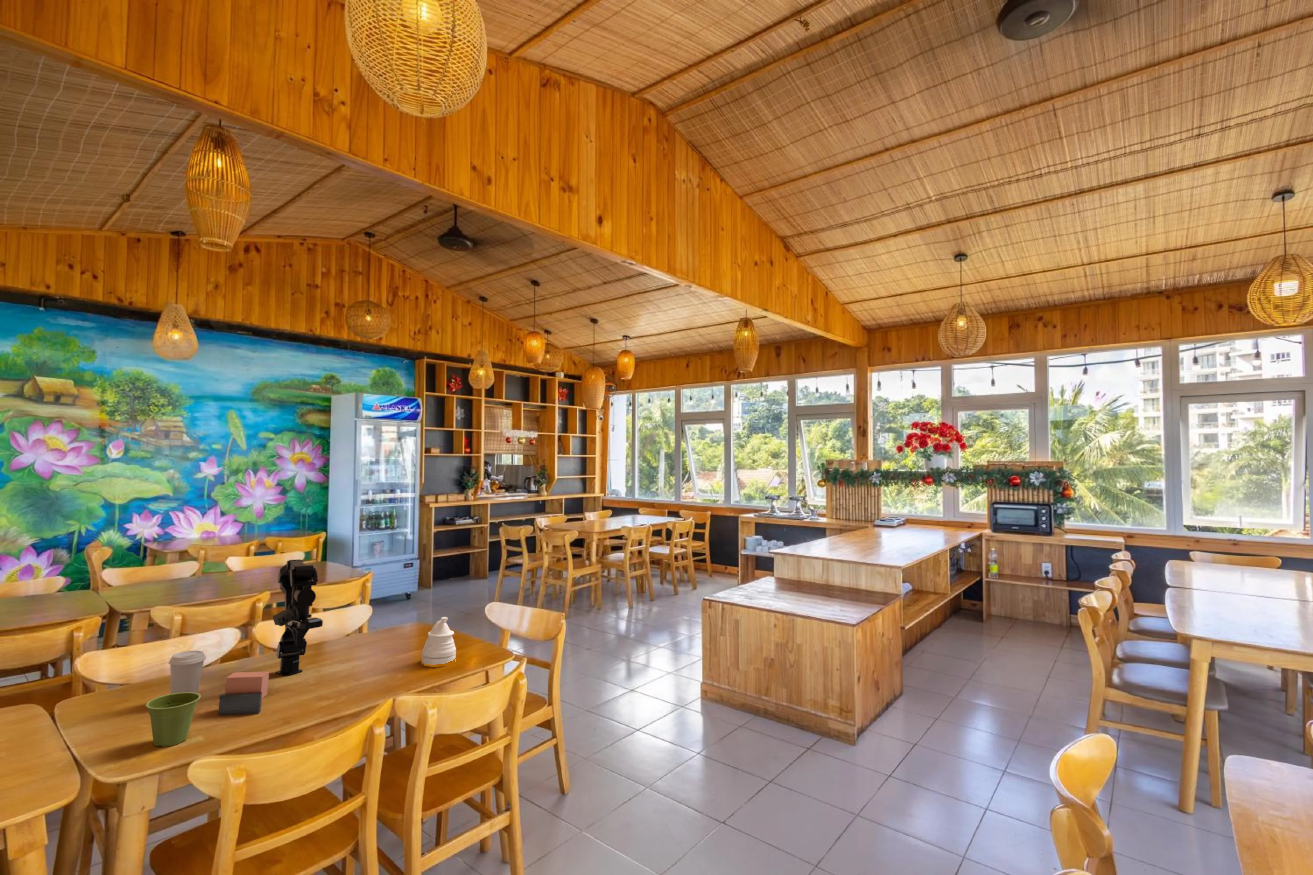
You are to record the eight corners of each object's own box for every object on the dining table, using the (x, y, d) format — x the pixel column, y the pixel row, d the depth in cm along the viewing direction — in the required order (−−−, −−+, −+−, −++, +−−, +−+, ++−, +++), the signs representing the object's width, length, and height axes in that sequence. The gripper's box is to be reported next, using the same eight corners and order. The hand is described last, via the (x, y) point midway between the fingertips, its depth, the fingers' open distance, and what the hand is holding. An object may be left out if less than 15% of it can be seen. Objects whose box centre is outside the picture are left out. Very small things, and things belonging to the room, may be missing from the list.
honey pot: (462, 661, 242) (464, 616, 243) (435, 669, 231) (438, 622, 232) (441, 655, 249) (444, 611, 250) (414, 663, 238) (417, 617, 239)
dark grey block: (240, 698, 196) (241, 679, 196) (277, 696, 198) (278, 678, 198) (218, 715, 182) (219, 695, 182) (258, 713, 184) (259, 693, 184)
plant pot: (131, 746, 160) (135, 703, 161) (180, 729, 171) (183, 689, 172) (159, 755, 156) (163, 710, 157) (207, 737, 167) (210, 696, 168)
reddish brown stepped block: (231, 705, 189) (234, 672, 190) (266, 703, 191) (269, 671, 192) (223, 711, 184) (226, 677, 185) (259, 709, 186) (262, 676, 187)
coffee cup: (160, 709, 185) (165, 659, 186) (169, 698, 193) (173, 651, 194) (199, 704, 189) (203, 656, 190) (205, 694, 198) (209, 648, 199)
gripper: (262, 601, 211) (258, 646, 210) (293, 607, 202) (290, 654, 201) (294, 596, 221) (290, 639, 220) (325, 602, 212) (321, 647, 211)
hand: (297, 645), depth 213 cm, fingers closed
